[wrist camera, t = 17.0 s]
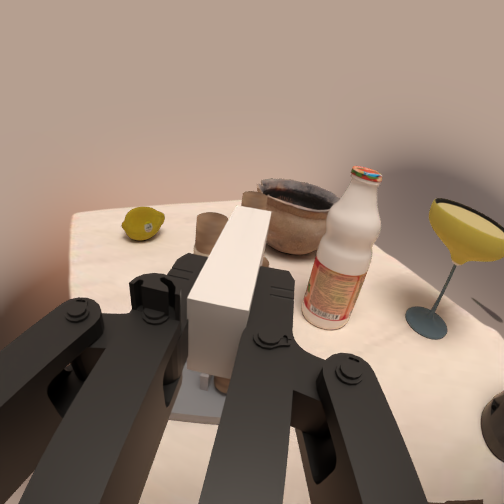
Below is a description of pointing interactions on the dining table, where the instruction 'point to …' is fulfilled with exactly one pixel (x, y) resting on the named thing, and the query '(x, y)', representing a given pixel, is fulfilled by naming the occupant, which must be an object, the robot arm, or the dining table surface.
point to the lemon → (142, 223)
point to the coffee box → (461, 502)
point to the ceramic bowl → (296, 214)
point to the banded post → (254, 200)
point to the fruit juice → (344, 252)
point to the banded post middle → (208, 232)
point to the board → (198, 399)
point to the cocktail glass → (457, 253)
